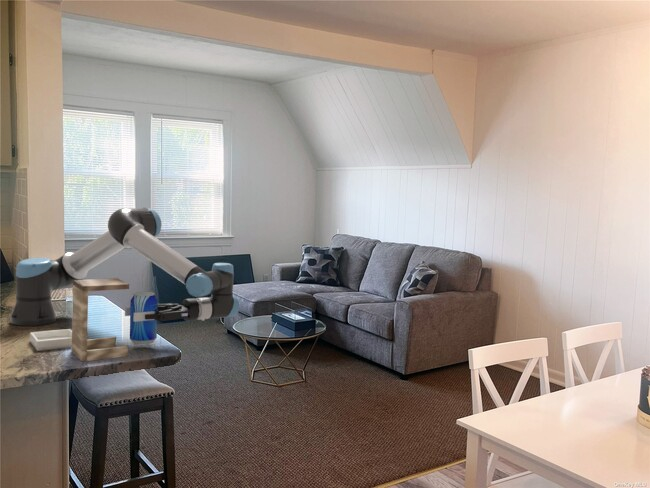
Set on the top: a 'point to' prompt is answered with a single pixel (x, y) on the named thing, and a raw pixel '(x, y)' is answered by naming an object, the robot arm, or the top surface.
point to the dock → (81, 319)
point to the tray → (51, 339)
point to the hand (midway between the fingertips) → (129, 314)
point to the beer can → (143, 329)
